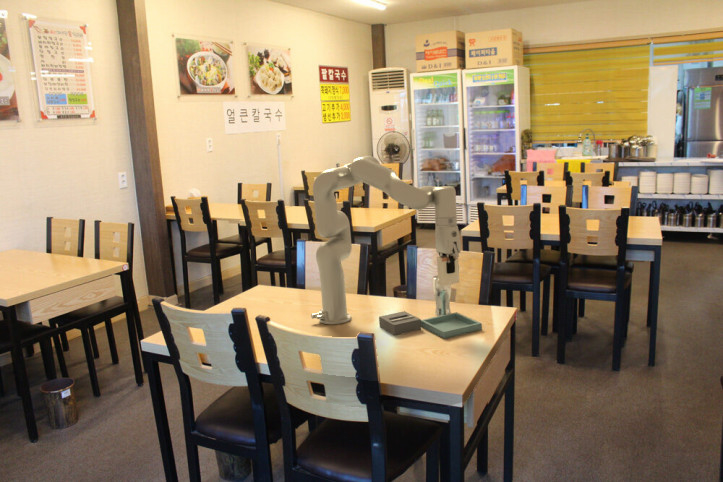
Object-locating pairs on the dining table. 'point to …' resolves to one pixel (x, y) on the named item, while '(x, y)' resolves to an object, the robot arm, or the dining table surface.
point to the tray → (451, 325)
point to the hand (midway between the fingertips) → (448, 271)
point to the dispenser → (400, 323)
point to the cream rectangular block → (442, 272)
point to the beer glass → (441, 297)
